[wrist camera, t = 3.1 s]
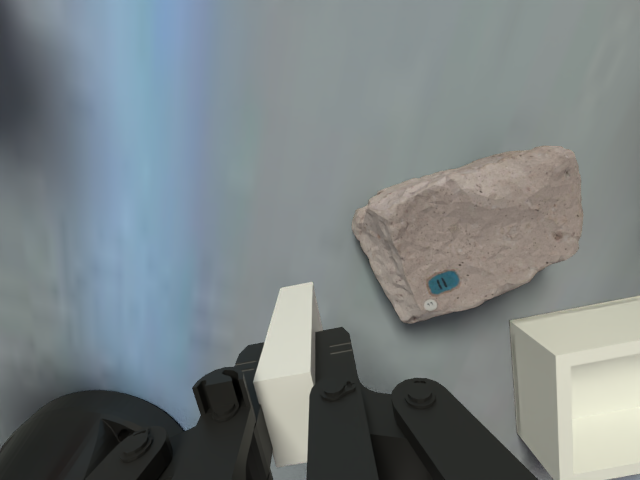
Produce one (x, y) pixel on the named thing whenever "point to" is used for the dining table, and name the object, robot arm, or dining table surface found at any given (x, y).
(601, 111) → the dining table surface
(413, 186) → the stone
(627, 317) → the tray
